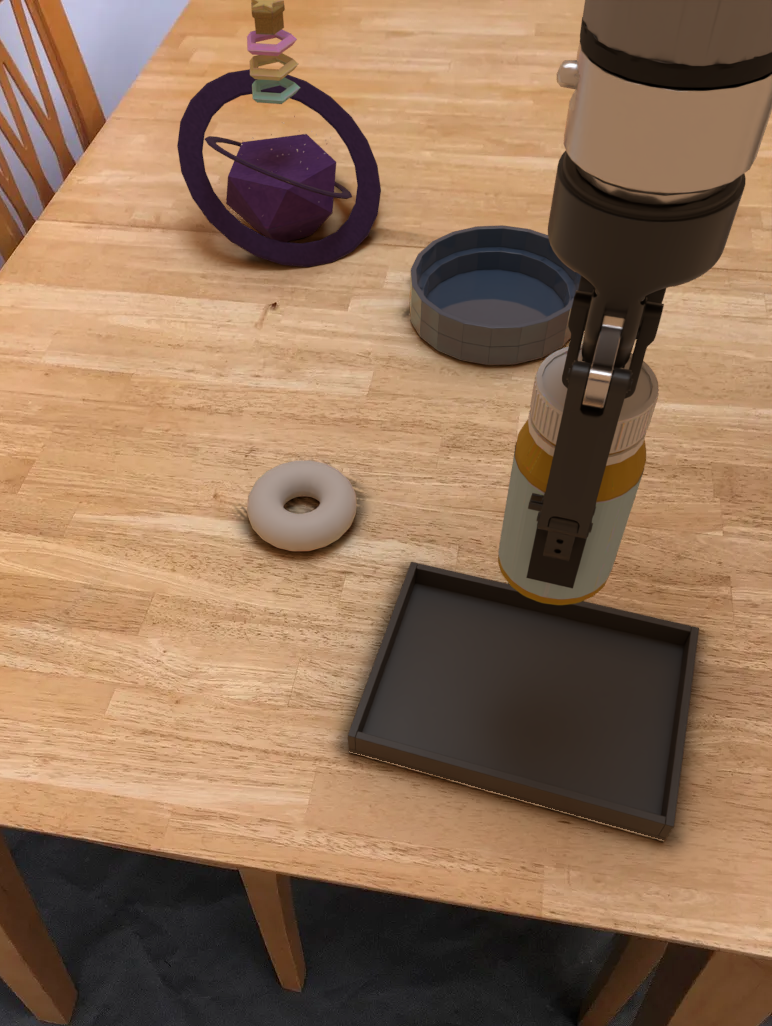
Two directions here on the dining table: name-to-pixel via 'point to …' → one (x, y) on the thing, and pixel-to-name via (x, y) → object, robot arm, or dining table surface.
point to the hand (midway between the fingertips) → (562, 529)
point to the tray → (532, 698)
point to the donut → (306, 527)
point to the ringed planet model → (278, 160)
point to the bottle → (534, 473)
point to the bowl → (492, 295)
